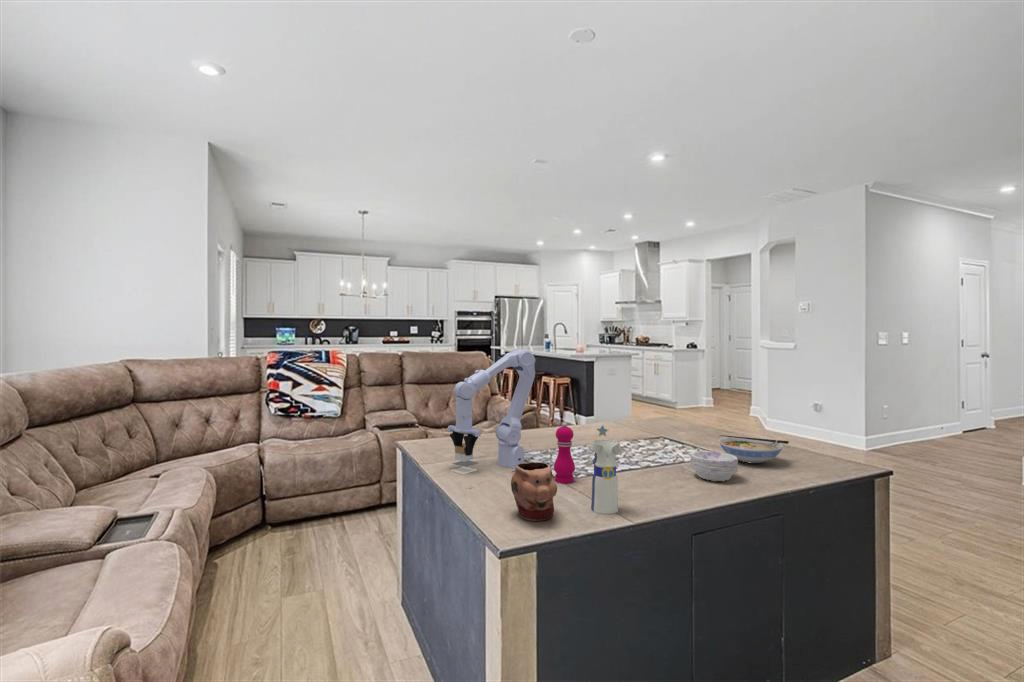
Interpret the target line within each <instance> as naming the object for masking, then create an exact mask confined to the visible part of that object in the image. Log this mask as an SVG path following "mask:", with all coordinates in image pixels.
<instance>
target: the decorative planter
mask: <svg viewBox="0 0 1024 682" xmlns="http://www.w3.org/2000/svg"><path fill="white" fill-rule="evenodd" d="M510 488H511V489H510V490H511V493H512V494H513V498H514V501H515V503H516V507H517V510H518V515H519V516H520V517H521V518H522V519H523V520H527V521H531V522H533V521H534V522H535V521H536V522H537V521H545V520H550V519H551V518H552V517H553V516H554V512H555V506H554V497H555V496H556V495H557V493H558V486H557V483H556V481H555V476H554V475H553V471H552V467H551V465H549V464H548V463H545V462H542V461H540V462H539V461H536V462H535V461H532V462H531V461H530V462H524V463H521V464H518V465H517V466H516V468H515V470H514V473H513V475H512V476H511V480H510Z"/></svg>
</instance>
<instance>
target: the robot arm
mask: <svg viewBox="0 0 1024 682" xmlns="http://www.w3.org/2000/svg"><path fill="white" fill-rule="evenodd" d="M535 363H536V357H535V355H534V354H533V353H532V352H531V351H530V350H525V349H524V350H522V349H521V350H519V349H512V350H511V351H510V352H507V353H506V354H504V355H503V356H502V357H501V358H499V359H497V361H496V362H494V363H493V364H492V365H490V366H489V367H488V368H486V369H485V370H484V369H476V370H475V371H474V373H473V374H472V375H470V376H469V377H465V378H464V380H463V381H458V383H456V384H455V386H454V387H453V388H454V389H453V394H454V395H455V425H448V426H447V432H450V434H449V437H450V438H451V441H452V443H453V446H454V447H455V446H456V445H459V444H463V443H465V445H466V455H467V456H469V455H472V451H473V452H474V448H475V445H476V443H477V440H478V439H479V437H481V436H482V430H480V429H477V428H474V427H473V398H474V396H475V394H476V392H479V391H480V390H481V389H482V388H484V387H485V386H487V385H488V384H489V383H490V381H491V379H492V378H493V377H494V376H495V375H498V374H499V373H501V372H502V371H504V370H506V369H507V368H510V367H512V368H514V369H515V370H516V372H517V374H518V376H519V378H518V380H517V384H516V387H515V390H514V391H513V394H512V395H513V396H512V398H511V400H510V404H509V407H508V410H507V412H506V415H505V416H504V417H503V418H502V419H501V421H500V423H499V424H498V425H497V427H495V428H496V429H495V431H494V432H495V434H494V435H495V436H496V439H498V445H497V449H498V450H497V451H498V452H497V453H498V455H497V458H498V459H497V462H498V463H497V464H498V466H499V467H503V468H509V469H515V468H516V466H517V465H518V464H521V463H525V448H524V447H523V446H521V445H519V442H520V441H521V438H522V437H521V436H522V435H521V431H522V427H523V426H522V423H521V419H522V415H523V414H524V413H523V412H524V410H525V407H526V405H527V400H528V399H529V395H530V392H531V388H532V387H533V383H534V380H535V377H536V368H535ZM513 472H514V473H515V470H513V471H511V473H513Z"/></svg>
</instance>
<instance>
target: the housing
mask: <svg viewBox="0 0 1024 682" xmlns="http://www.w3.org/2000/svg"><path fill="white" fill-rule="evenodd" d="M473 459H474V450H473V451H472V455H469V456H467V455H466V445H465V442H462V444H459V445H456V446H454V460H455V461H458V462H460V461H463V462H465V461H468V460H469V461H472V460H473Z"/></svg>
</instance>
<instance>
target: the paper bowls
mask: <svg viewBox="0 0 1024 682" xmlns="http://www.w3.org/2000/svg"><path fill="white" fill-rule="evenodd" d="M738 464H739V460H738V458H737V457H736V456H734V455H731V454H727V453H726V452H720V451H710V450H709V451H707V450H706V451H705V450H703V451H702V450H701V451H694V452H691V454H690V465H689V466H690V469H691V470H694V471H695V472H696V474H697V476H698V477H699V478H700V479H702V478H703V480H705V479H706V480H705V481H709V480H711V481H710V482H717V481H722V482H726V481H725V480H727V481H729V480H730V479H731V477H732V476H733V475H735V474H737V473H738V468H739V467H738Z"/></svg>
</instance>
